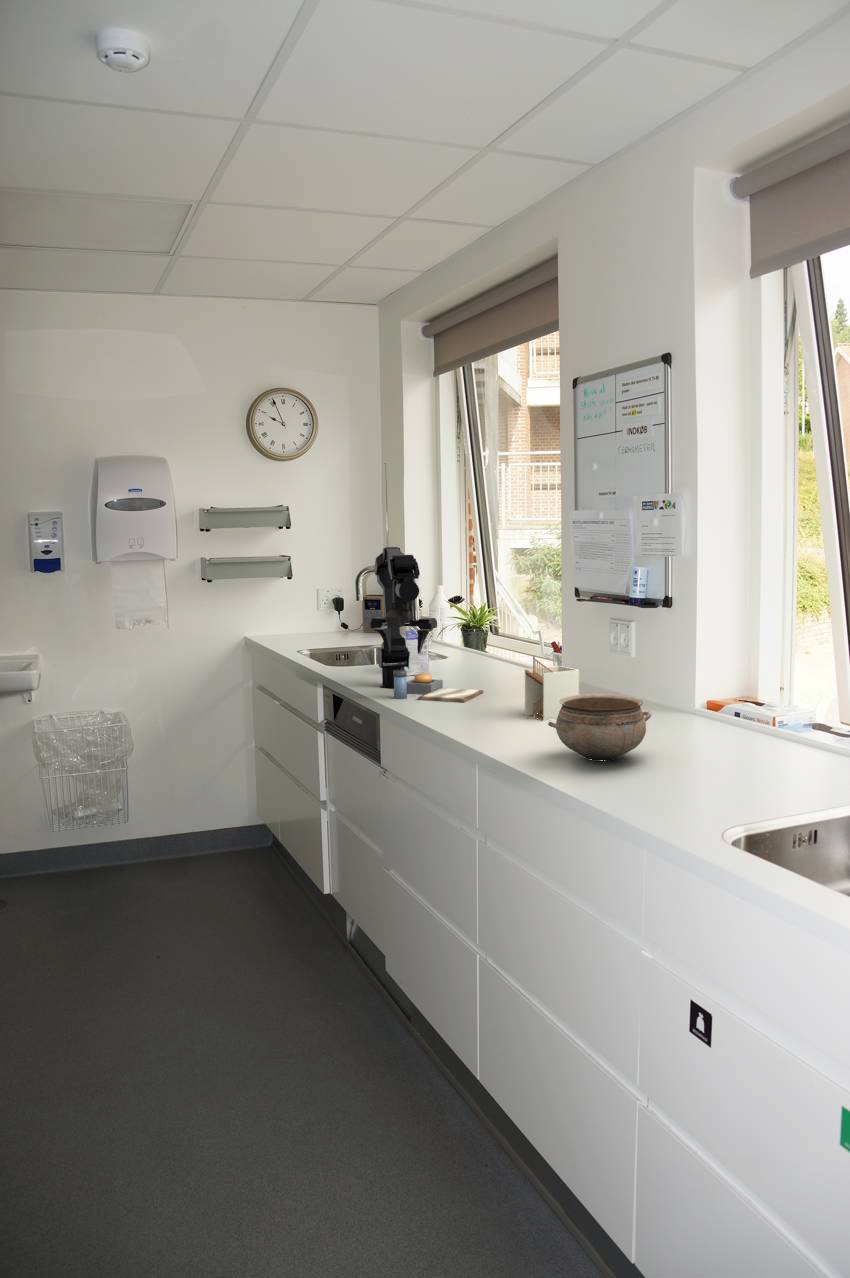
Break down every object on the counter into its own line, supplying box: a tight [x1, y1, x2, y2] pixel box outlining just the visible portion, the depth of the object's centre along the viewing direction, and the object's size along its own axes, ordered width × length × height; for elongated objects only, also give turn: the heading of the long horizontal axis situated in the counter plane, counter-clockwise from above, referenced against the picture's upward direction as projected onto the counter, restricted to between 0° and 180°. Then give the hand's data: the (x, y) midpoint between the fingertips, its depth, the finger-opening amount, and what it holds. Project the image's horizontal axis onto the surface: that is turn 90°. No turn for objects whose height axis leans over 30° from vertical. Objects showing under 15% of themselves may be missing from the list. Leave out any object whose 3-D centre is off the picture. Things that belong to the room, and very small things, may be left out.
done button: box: [414, 673, 432, 683], centre depth 294 cm, size 5×5×2 cm
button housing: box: [406, 678, 444, 695], centre depth 294 cm, size 9×9×3 cm
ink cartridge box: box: [404, 630, 430, 677], centre depth 326 cm, size 10×6×14 cm, turn 115°
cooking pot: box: [547, 693, 652, 762], centre depth 210 cm, size 25×19×12 cm
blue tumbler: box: [393, 670, 408, 700], centre depth 284 cm, size 4×4×8 cm
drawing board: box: [417, 687, 484, 703], centre depth 285 cm, size 14×16×1 cm
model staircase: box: [524, 655, 580, 721], centre depth 254 cm, size 9×11×17 cm
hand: (403, 652), depth 283 cm, fingers open, 9 cm apart
